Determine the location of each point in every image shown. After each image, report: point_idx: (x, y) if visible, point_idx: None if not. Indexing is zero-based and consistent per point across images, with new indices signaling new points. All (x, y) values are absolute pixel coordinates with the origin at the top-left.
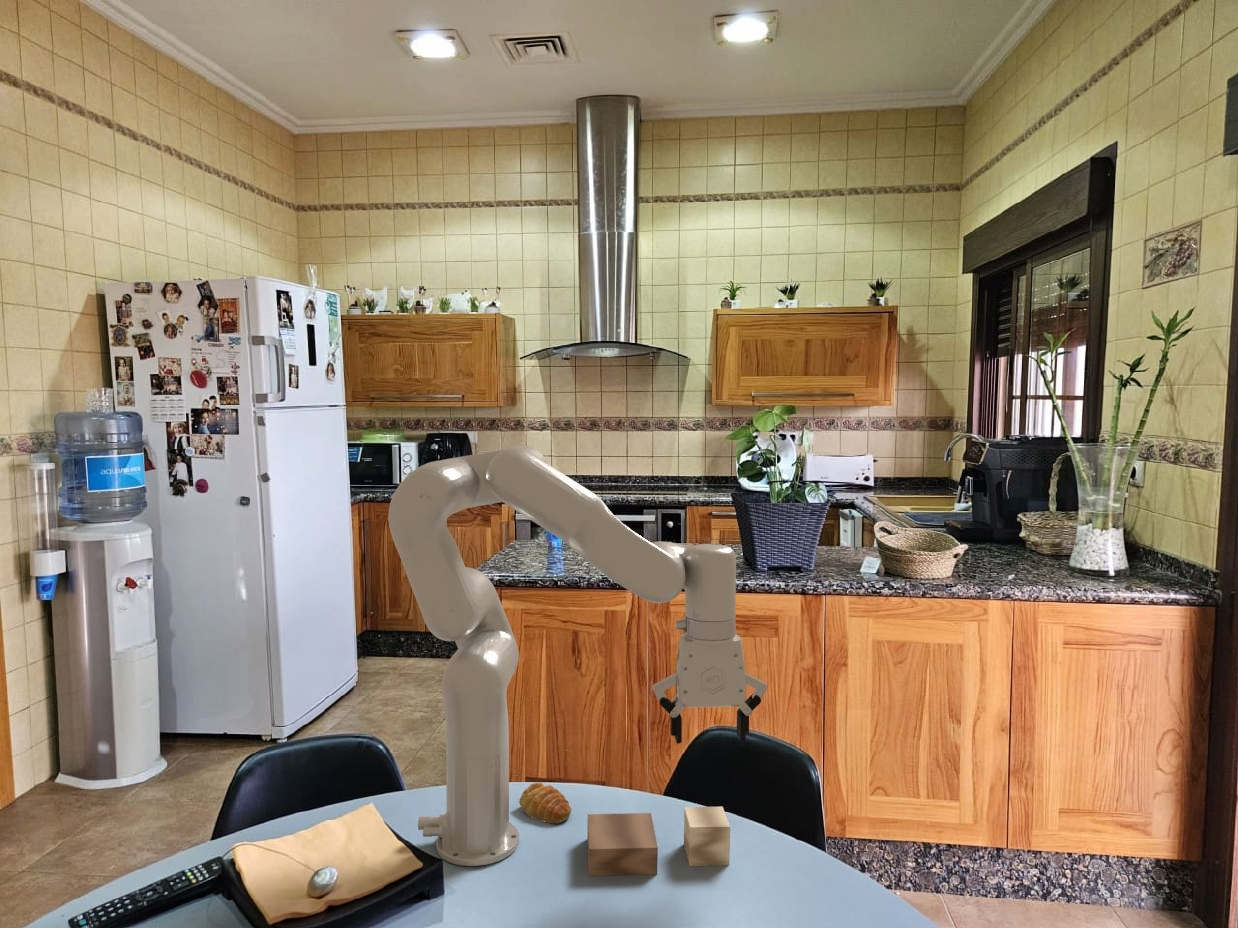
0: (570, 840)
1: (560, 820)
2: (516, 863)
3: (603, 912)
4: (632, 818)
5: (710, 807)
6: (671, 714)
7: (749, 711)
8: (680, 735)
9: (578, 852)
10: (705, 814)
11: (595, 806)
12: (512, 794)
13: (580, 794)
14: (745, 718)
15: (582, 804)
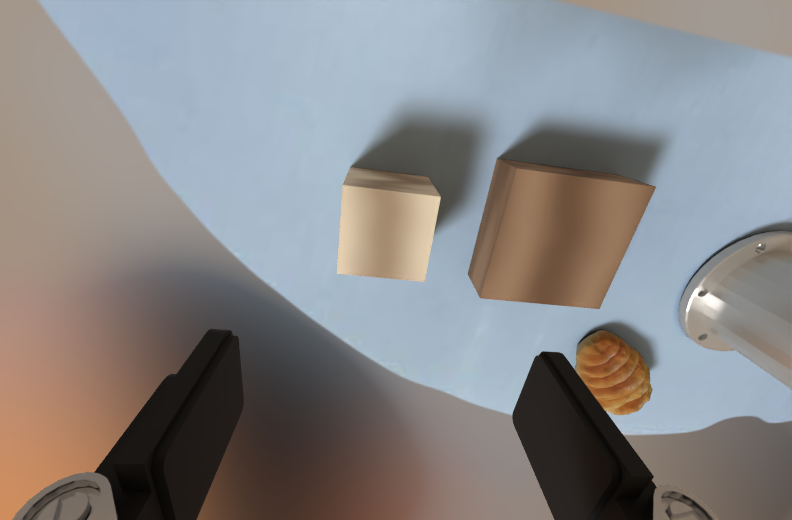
0: None
1: (601, 332)
2: (713, 231)
3: (644, 46)
4: (522, 284)
5: (366, 273)
6: (694, 510)
7: (44, 513)
8: (560, 380)
9: None
10: (386, 245)
11: (524, 368)
12: None
13: None
14: (126, 446)
15: None
